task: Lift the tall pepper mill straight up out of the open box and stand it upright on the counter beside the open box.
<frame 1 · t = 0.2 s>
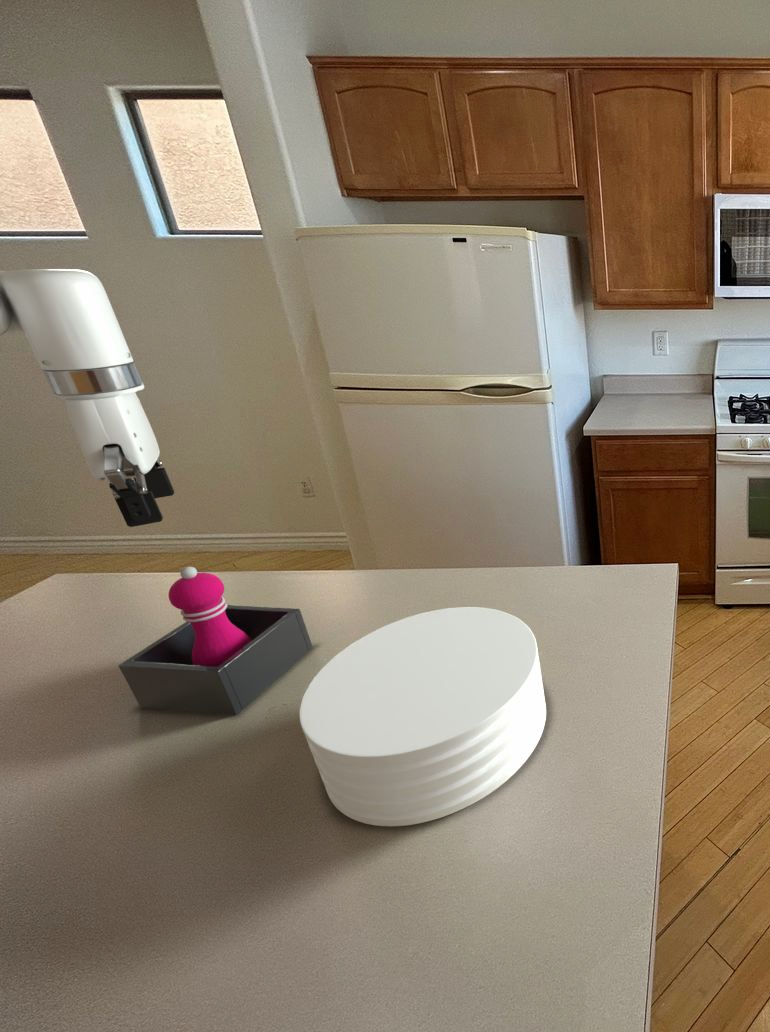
hand: (153, 509, 73), 31 cm above the counter, tool pointing down, fingers open, 9 cm apart
plate stack: (443, 733, 78), on the counter
open box: (233, 675, 88), on the counter
pepper mill: (233, 676, 88), resting in open box
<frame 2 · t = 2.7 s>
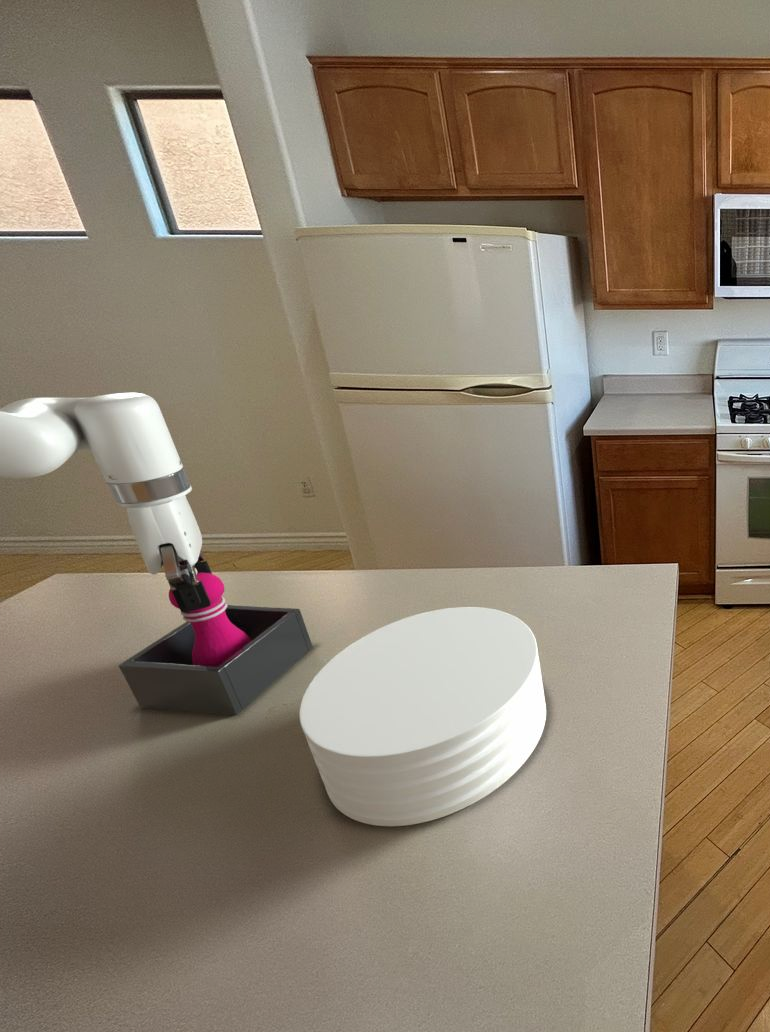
hand: (199, 596, 82), 15 cm above the counter, tool pointing down, fingers closed on pepper mill, 6 cm apart
pepper mill: (233, 676, 88), resting in open box, touching gripper
everything else where it was.
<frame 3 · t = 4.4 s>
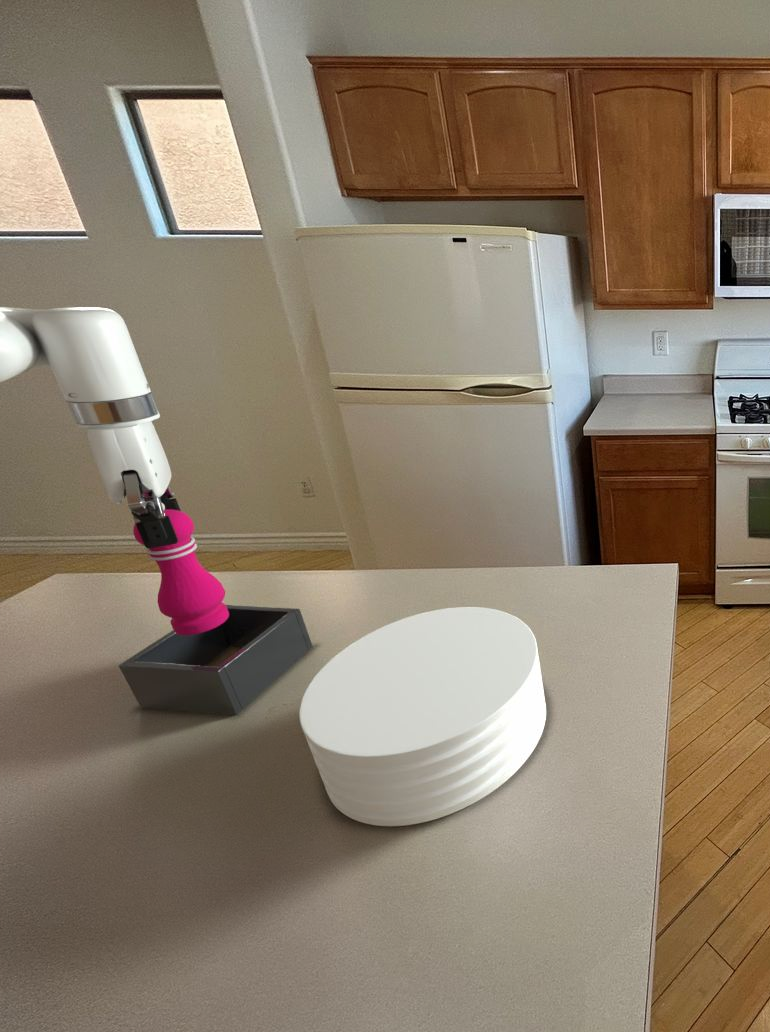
hand: (166, 534, 77), 26 cm above the counter, tool pointing down, fingers closed on pepper mill, 6 cm apart
pepper mill: (203, 624, 83), point 10 cm above the counter, touching gripper
everything else where it was.
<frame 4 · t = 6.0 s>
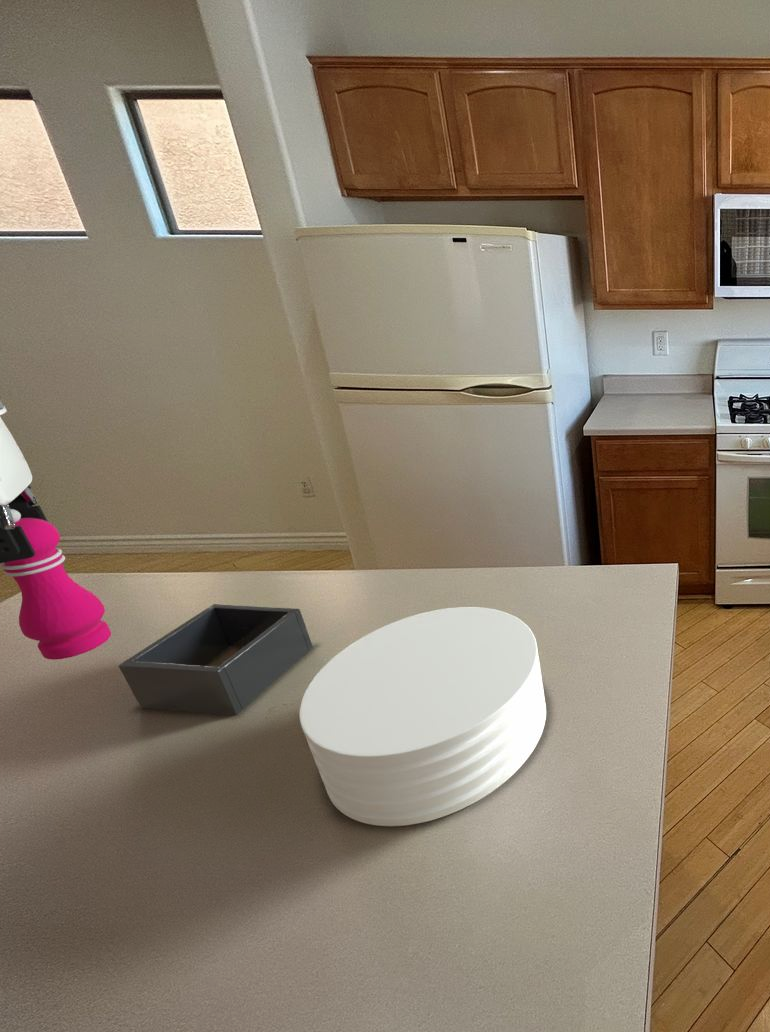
hand: (25, 546, 68), 28 cm above the counter, tool pointing down, fingers closed on pepper mill, 6 cm apart
pepper mill: (79, 645, 74), point 13 cm above the counter, touching gripper
everything else where it was.
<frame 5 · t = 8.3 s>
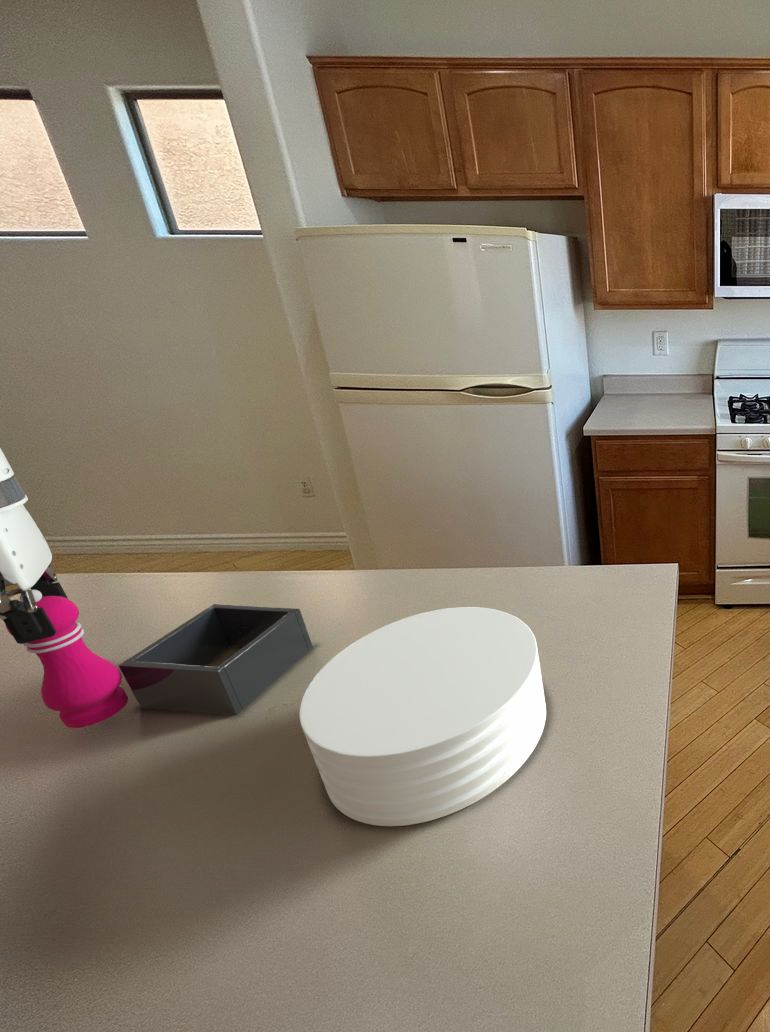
hand: (46, 623, 71), 18 cm above the counter, tool pointing down, fingers closed on pepper mill, 6 cm apart
pepper mill: (98, 712, 77), point 3 cm above the counter, touching gripper
everything else where it was.
when the fingers open (15 cm above the counter, at t = 9.6 s): pepper mill stays where it is, on the counter.
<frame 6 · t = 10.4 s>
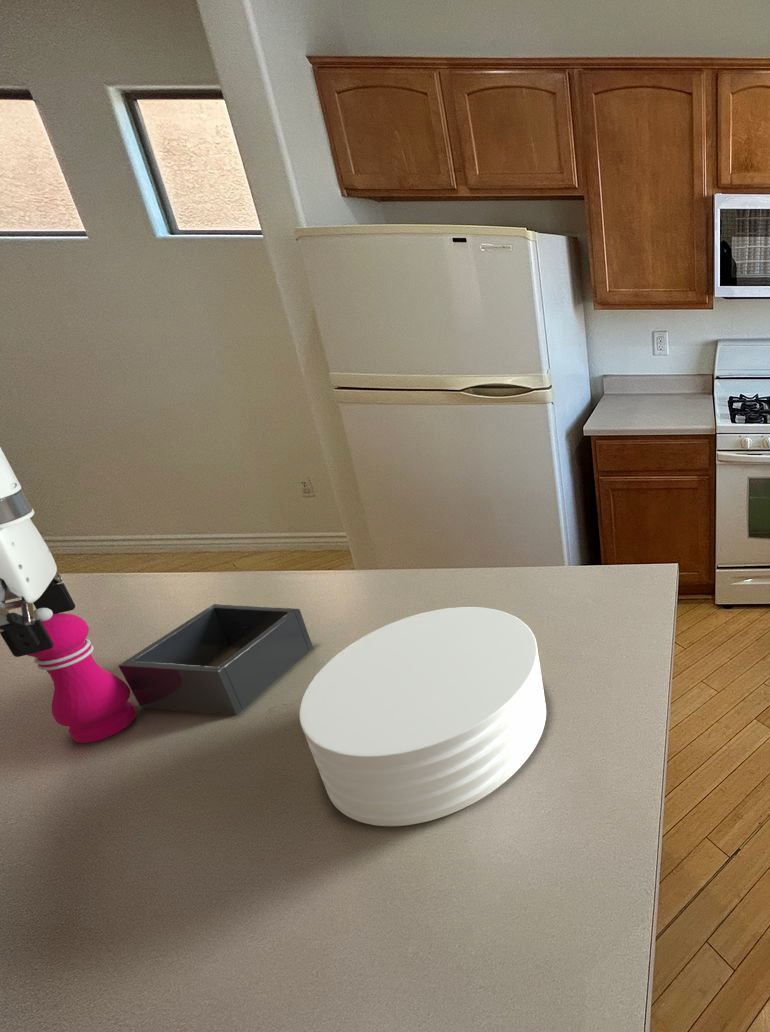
hand: (47, 631, 71), 17 cm above the counter, tool pointing down, fingers open, 9 cm apart
pepper mill: (107, 726, 78), on the counter
everything else where it was.
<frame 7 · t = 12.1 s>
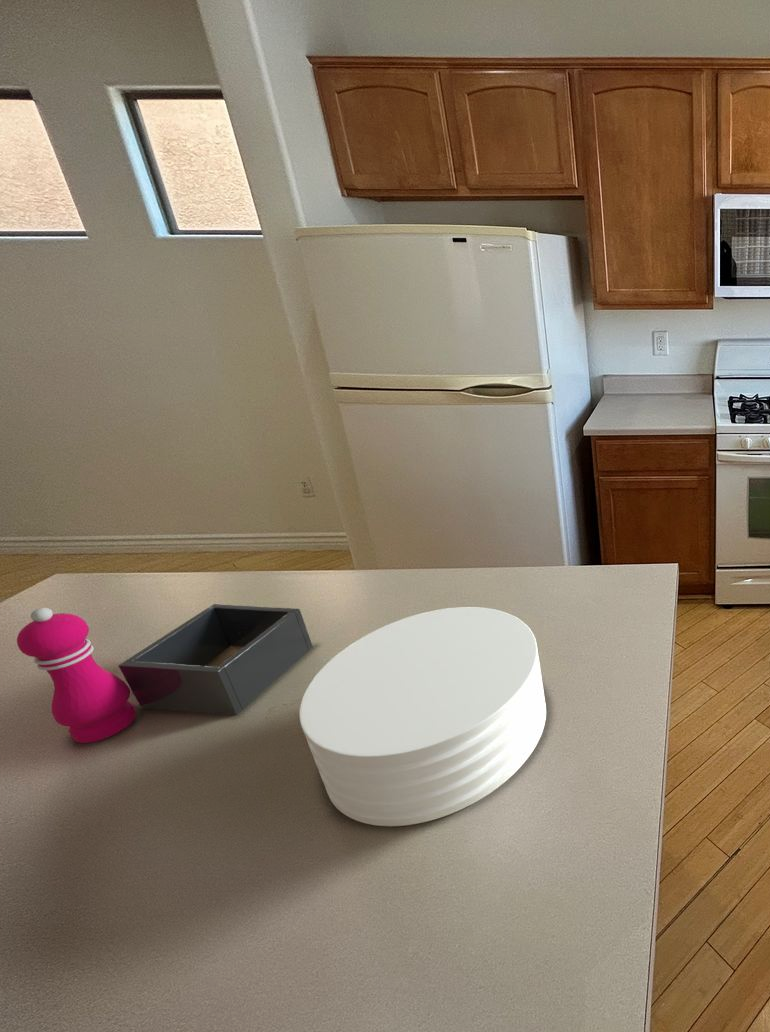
nothing on the counter moved.
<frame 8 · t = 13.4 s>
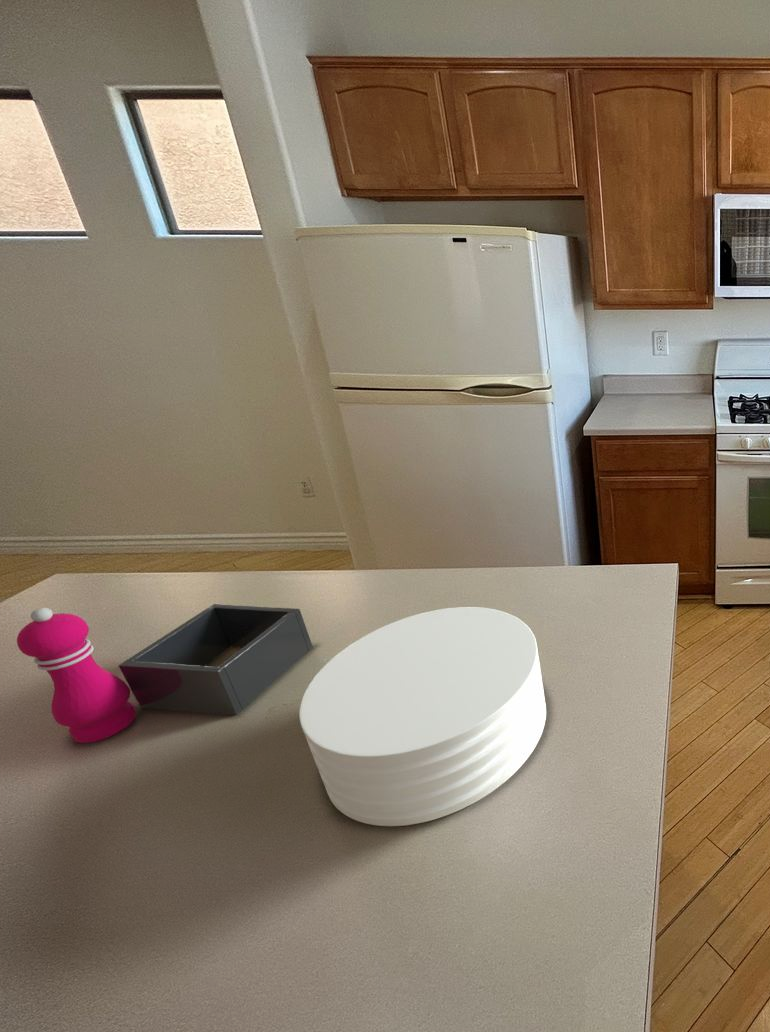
nothing on the counter moved.
at the end: pepper mill inside the target area (0.1 cm from its centre), on the counter; pepper mill tilted 0°; pepper mill touching counter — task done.
